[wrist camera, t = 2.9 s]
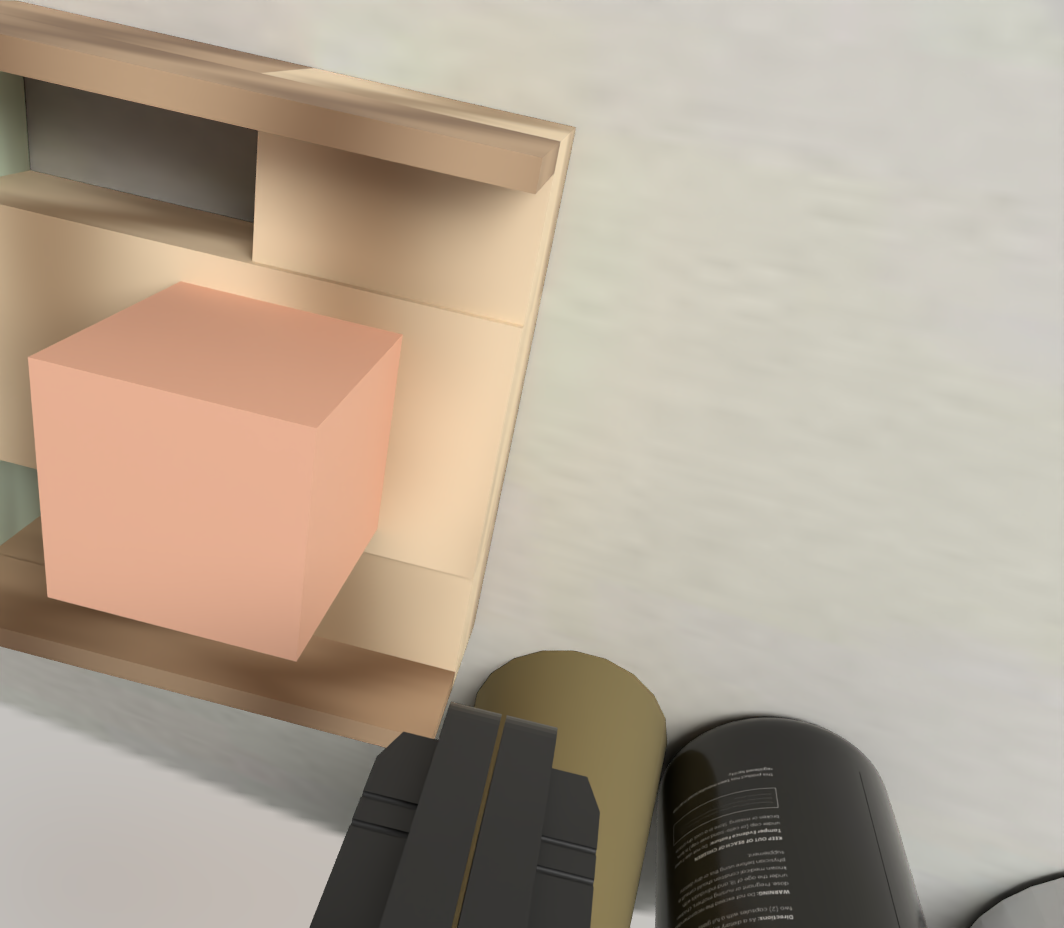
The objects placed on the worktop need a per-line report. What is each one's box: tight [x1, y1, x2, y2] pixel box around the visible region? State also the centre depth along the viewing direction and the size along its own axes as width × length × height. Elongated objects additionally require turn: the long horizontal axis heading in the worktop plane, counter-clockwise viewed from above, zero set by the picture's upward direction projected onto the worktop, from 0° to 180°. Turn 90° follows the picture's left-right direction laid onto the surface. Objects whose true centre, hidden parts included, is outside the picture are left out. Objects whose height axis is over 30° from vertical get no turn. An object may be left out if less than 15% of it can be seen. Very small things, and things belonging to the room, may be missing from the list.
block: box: [28, 281, 403, 662], centre depth 18 cm, size 5×5×5 cm
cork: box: [452, 651, 667, 928], centre depth 22 cm, size 6×6×11 cm
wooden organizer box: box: [0, 0, 576, 748], centre depth 20 cm, size 20×14×6 cm
